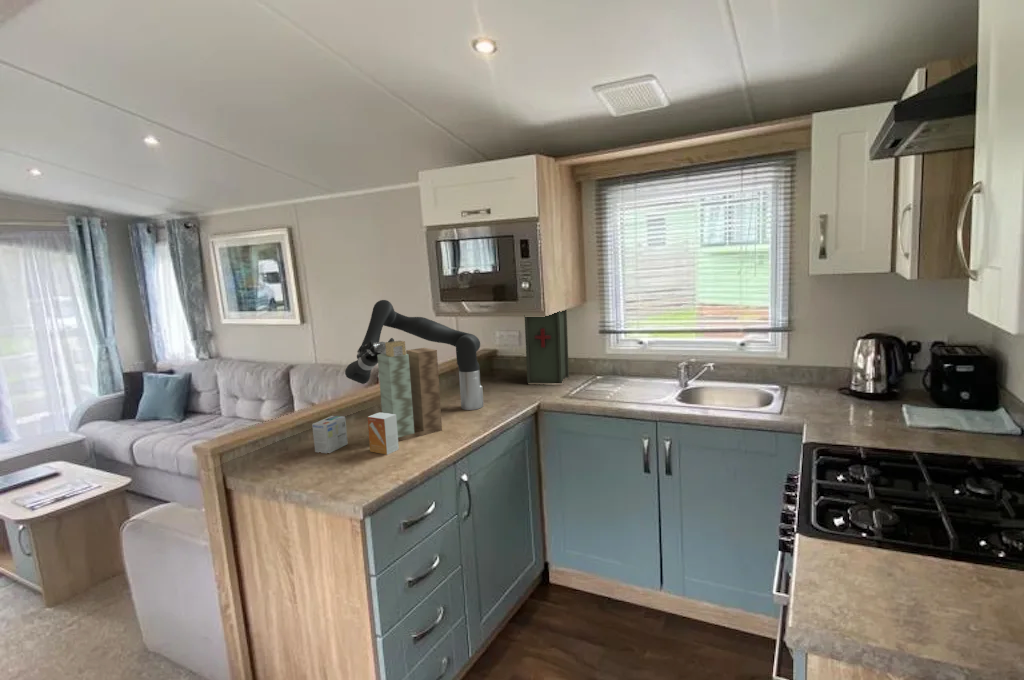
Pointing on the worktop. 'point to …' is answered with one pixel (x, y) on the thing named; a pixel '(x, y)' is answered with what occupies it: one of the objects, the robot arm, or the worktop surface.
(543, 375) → the first aid box
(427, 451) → the worktop surface
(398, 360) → the green brown tall block
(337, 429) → the light bulb box
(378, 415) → the small box
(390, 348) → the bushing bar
